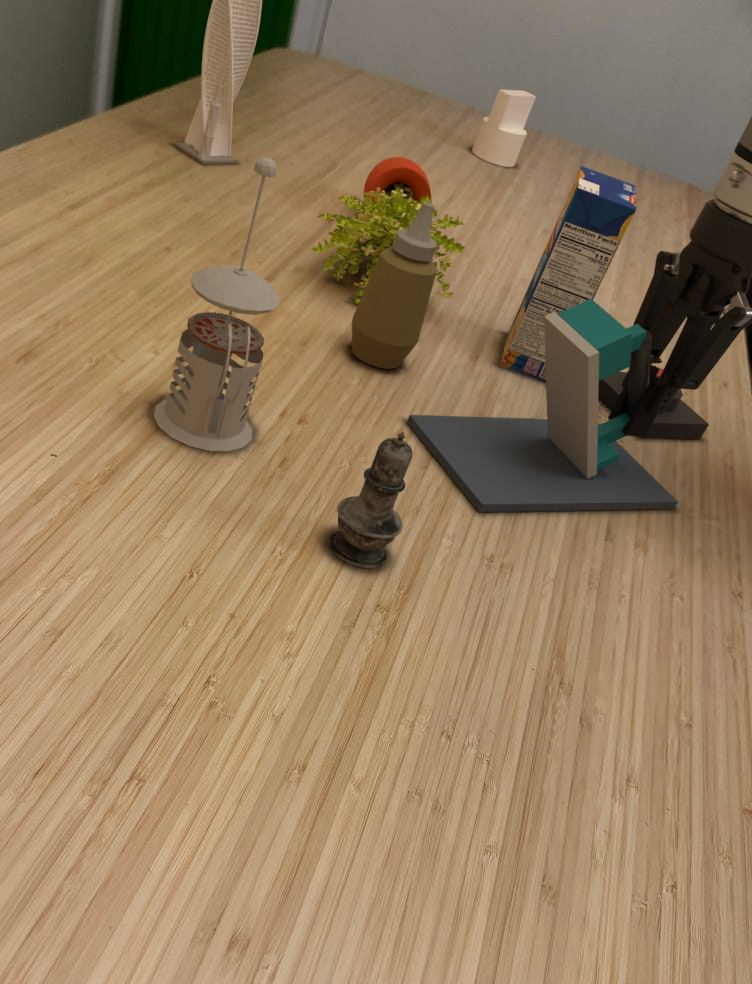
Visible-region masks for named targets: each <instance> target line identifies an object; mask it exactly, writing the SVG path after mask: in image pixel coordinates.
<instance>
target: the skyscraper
mask: <svg viewBox="0 0 752 984" xmlns="http://www.w3.org/2000/svg"><path fill="white" fill-rule="evenodd" d="M262 8H263V0H212V2H211V5H210V9H209V13H208V18H207V22H206V28H205V33H204V39H203V47H202V56H201V57H202V58H201V59H202V60H201V74H200V75H201V78H200V80H201V81H200V87H201V88H200V92H201V94H200V99H199V101H198V105H197V107H196V110H195V112H194V116H193V117H192V120H191V122H190V126H189V128H188V131H187V134H186V137H185V139H184V142H174V146H175V147H176V148H178V149H179V150H180V151H183V152H184V153H185V154H187V155H189V156H190V157H192V158H193V159H195V160H196V161H198V162H199V163H201V164H202V165H214V164H215V165H217V164H219V165H220V164H221V165H222V164H237V163H238V160H237V159H236V158H234V157H232V139H233V138H232V137H233V114H234V113H233V111H234V110H233V108H234V102H235V100H236V98H237V96H238V94H239V92H240V90H241V87H242V85H243V84H244V81H245V78H246V75H247V74H248V69H249V68H250V66H251V65H250V64H251V62H252V59H253V56H254V53H255V48H256V45H257V40H258V36H259V31H260V25H261V18H262Z"/></svg>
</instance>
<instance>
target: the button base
mask: <svg viewBox="0 0 752 984" xmlns="http://www.w3.org/2000/svg"><path fill="white" fill-rule="evenodd" d="M627 373H628V371H620V372H617V373H615V374H613V375H611V376H609V377H606V378H604V379H602V380H600V381H599V386H598V400H600V401H601V402H602V403H603V404H604V405H605V406H606V407H607V408H608V409H609V410H610V412H611V411H612V409H613V407H614V405H615V403H616V401H617V400H618V398H619V396H620V394H621V392H622V390H623V389H624V388H623V387H622V382H623V380H624V378H625V377H626V374H627ZM683 397H684V394H683V391H682V389H678V390H677V391H676V393H675V395H674V396H673V398H672V400H671V402H670V403H669V405H668V407H667V409H666V410H665V411H664V412H663V413H662V414H657V416H656V418H655V420H654V421H653V423H652V425H651V427H650V428H649V430H648V432H647V434H646V435H645V436H638V438H639V439H667V440H668V439H669V440H670V439H673V440H677V439H678V440H701V439H702V437H703V435H704V434H705V432H706V431H707V429H708V427H709V425H710V423H709V422H708V421H706V420H705V419H704V418H703V416H701V415H700V414H698V413H697V412H696V411H695V410H694V409H693V408H691V407H690V406H689V405H688V404H687V403H685V401H683V400H682V398H683Z"/></svg>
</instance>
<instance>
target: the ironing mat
mask: <svg viewBox="0 0 752 984" xmlns="http://www.w3.org/2000/svg"><path fill="white" fill-rule="evenodd" d="M406 424H407V425H408V426H409V427H410V429H411V430H412V431H413V432H414V433H415V435H416V436H417V438H419V440H420V441H421V442H422V444H423V445H424V446H425V447H426V448H427V450H428V451H429V453H430V454H431V455H432V456H433V457H434V459H435V460H436V461H437V463H439V465H440V466H441V467H442V469H443V470H444V471H445V472H446V474H447V475H448V476H449V477H450V478H451V480H452V481H453V482H454V483H455V485H456V486H457V488H459V490H460V491H461V492H462V493H463V495H464V496H465V497H466V498H467V500H468V501H469V503H470V504H472V506H473V507H474V509H476V511H477V512H478V513H507V512H508V513H510V512H511V513H512V512H515V513H516V512H517V513H518V512H567V511H568V512H570V511H571V512H573V511H576V512H577V511H628V510H629V511H630V510H631V511H632V510H640V511H641V510H675V508H676V506H677V504H678V503H679V501H678V500H677V499H676V498H675V497H674V496H673V495H672V494H671V493H670V492H669V491H668V490H667V489H666V488H665V487H664V486H663V485H662V484H661V483H660V482H659V481H658V480H657V479H656V478H655V476H653V475H652V474H650V472H649V471H648V470H646V468H645V467H644V466H642V465H641V463H639V462H638V461H637V459H636V458H635V457H634V456H632V455H631V454H630V453H629V452H628V451H627V450H626V449H625V448H624V446H622V445H621V444H620V443H619V441H618V440H617V441H615V442H613V443H610V445H611V446H612V447H613V448H614V449H615V450H616V451H617V452H618V453H619V461H616V462H614V463H612V464H610V465H608V466H605V467H603V468H601V469H599V470H597V475H595V476H592V477H590V478H588V479H587V478H586V477H585V476H584V475H583V474H582V473H581V472H580V471H579V470H578V469H577V467H576V466H575V465H574V464H573V463H572V462H571V461H570V460H569V459H568V458H567V457H566V456H565V455H564V454H563V453H562V452H561V451H560V450H559V448H558V447H557V446H556V445H555V444H554V443H553V442H552V441H551V440H550V439H549V438H548V430H547V418H524V417H522V418H521V417H491V416H461V415H460V416H459V415H458V416H457V415H431V414H430V415H429V414H409V415H408V418H407V421H406ZM600 424H601V423H599V422H598V425H600Z"/></svg>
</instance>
